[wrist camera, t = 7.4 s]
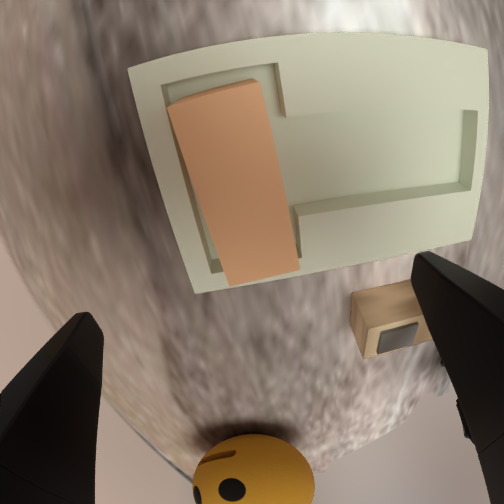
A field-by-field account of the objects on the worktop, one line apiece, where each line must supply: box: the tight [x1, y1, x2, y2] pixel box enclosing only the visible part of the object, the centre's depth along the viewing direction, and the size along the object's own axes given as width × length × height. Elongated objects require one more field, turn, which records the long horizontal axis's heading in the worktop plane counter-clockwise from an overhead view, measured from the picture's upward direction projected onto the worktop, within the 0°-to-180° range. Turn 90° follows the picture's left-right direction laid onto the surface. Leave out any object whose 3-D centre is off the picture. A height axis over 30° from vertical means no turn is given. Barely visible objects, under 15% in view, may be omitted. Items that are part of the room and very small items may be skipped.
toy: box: [193, 434, 315, 504], centre depth 31 cm, size 15×15×15 cm
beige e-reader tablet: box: [350, 279, 432, 359], centre depth 22 cm, size 10×4×4 cm, turn 99°
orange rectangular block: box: [167, 78, 300, 287], centre depth 15 cm, size 4×9×4 cm, turn 14°
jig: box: [127, 33, 489, 294], centre depth 16 cm, size 19×13×2 cm
